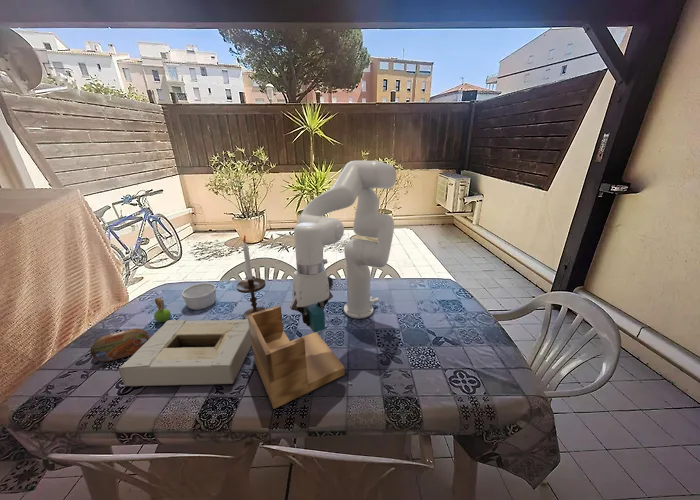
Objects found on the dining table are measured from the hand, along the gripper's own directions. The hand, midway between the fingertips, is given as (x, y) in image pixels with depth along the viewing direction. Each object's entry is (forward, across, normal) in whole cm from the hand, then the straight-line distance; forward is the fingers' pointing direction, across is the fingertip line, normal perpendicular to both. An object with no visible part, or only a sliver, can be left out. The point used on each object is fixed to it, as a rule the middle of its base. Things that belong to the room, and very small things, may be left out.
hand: (313, 321), depth 82 cm
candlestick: (+15, +10, -37) cm, 41 cm away
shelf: (+15, +6, 0) cm, 16 cm away
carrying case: (+15, -23, -47) cm, 55 cm away
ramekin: (+15, +28, -59) cm, 67 cm away
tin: (+16, +53, -37) cm, 66 cm away
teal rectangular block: (+1, 0, 0) cm, 1 cm away
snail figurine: (+16, +42, -52) cm, 69 cm away
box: (+16, +32, -22) cm, 42 cm away
